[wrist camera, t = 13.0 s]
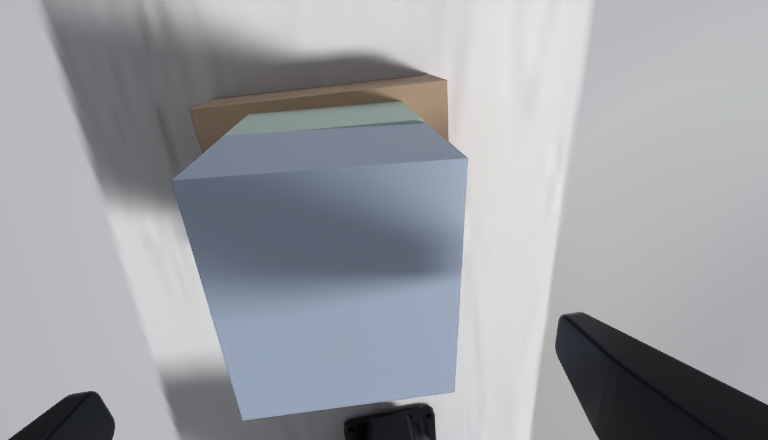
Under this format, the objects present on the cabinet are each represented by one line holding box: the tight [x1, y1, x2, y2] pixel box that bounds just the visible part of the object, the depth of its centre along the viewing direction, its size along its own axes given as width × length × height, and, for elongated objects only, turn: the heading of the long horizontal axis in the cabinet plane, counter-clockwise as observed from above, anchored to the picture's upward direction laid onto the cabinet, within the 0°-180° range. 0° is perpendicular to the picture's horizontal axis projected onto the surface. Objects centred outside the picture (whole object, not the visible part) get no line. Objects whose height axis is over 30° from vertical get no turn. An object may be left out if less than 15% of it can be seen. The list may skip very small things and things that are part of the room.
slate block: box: [171, 122, 468, 421], centre depth 11 cm, size 7×6×4 cm
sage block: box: [222, 101, 423, 137], centre depth 15 cm, size 7×6×4 cm
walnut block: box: [190, 75, 448, 153], centre depth 18 cm, size 8×10×3 cm
